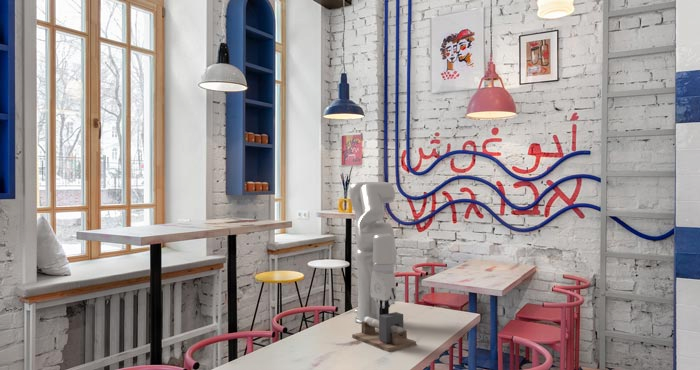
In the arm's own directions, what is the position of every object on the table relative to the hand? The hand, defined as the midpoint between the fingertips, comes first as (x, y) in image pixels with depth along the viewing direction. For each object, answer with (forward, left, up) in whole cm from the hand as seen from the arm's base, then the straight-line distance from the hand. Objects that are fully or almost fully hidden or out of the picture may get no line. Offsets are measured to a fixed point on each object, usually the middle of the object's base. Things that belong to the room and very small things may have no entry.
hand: (384, 318), depth 183 cm
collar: (+4, 0, -7) cm, 8 cm away
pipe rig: (-1, 0, -9) cm, 9 cm away
